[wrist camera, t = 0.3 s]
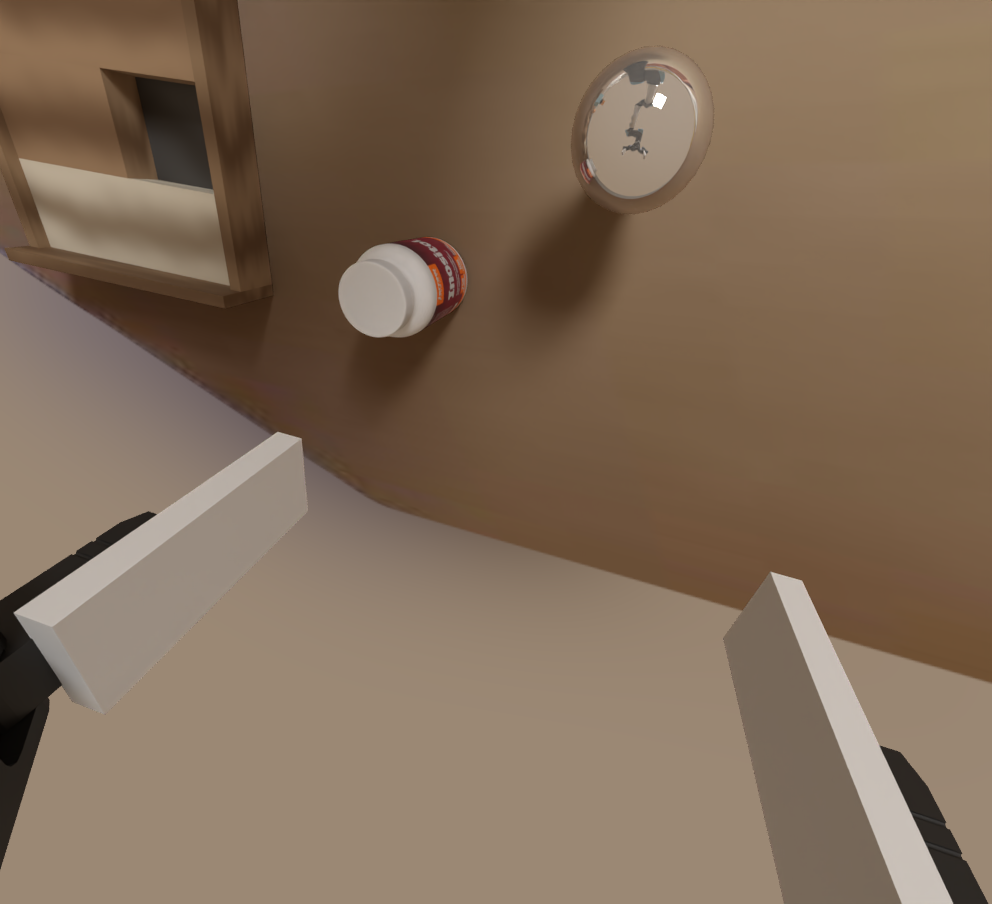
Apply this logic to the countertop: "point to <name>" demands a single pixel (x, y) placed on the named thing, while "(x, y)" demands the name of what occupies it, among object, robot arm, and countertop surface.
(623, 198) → the light bulb
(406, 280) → the pill bottle
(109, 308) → the countertop surface
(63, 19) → the board
